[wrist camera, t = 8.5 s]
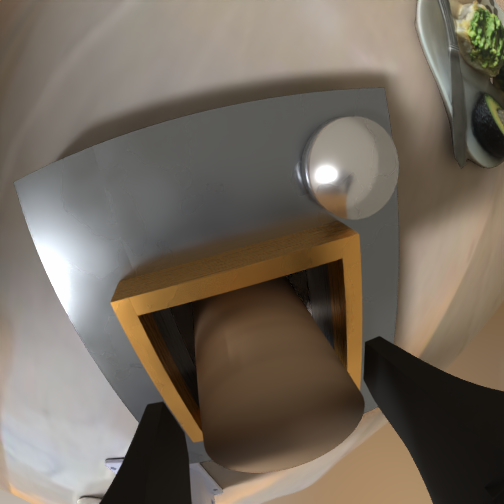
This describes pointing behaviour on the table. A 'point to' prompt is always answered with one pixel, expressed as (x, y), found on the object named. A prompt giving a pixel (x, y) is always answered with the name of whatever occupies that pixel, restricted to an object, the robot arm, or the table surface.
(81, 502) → the can
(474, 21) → the salad plate
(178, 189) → the gray peg socket base
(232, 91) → the table surface
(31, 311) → the table surface
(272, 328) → the walnut peg
